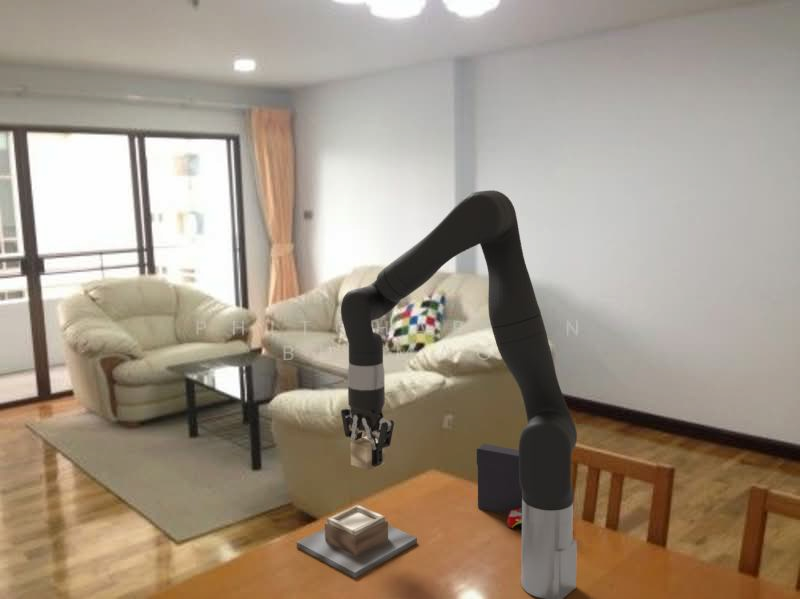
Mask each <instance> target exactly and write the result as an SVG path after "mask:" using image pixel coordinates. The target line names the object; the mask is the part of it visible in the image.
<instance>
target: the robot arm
mask: <svg viewBox="0 0 800 599" xmlns="http://www.w3.org/2000/svg"><path fill="white" fill-rule="evenodd" d="M519 230H520V229H519V224H518V219H517V212H516V208H515V206H514V205H513V203H512V201H511V200H510V198H509V197H508V196H507V195H506V194H504V193H503V192H501V191H498V190H481V191H474V192H471V193H469V194H466V195H465V196H464V197H463V198H462V199H461V200H460V201H459V202H458V203H457V204H456V205H455V206H454V207H453V208H452V210H450V212H449V213H448V214H447V215H446V216H445V217H444V218H443V219H442V221H441V222H439V223H438V224H437V225H436V226H435V227H434V228H433V229H432V230H431V231H430V232H429V233H428V234H427V235H426V236H425V237H424V238H422V239H421V240H420V241H419V242H418V243H416V244H414V245H413V246H412V247H411V248H409V249H408V250H407V251H405V252H404V253H402V254H401V255H400V256H398V257H397V258H395V259H394V260H393V261H392V262H391V263H389V264H388V265H386V267H384V268H383V269H382V270H381V271H379V273H378V274H377V277H376V279H375V281H373V282H372V283H370V284H368V285H367V286H364V287H360V288H354V289H351V290H349V291H348V292H346V294H345V295H344V296H343V298H342V301H341V304H340V315H341V320H342V324H343V328H344V333H345V336H346V338H347V339H346V340H347V341H348V369H347V400H348V402H347V403H348V406H349V407H346V408H344V409H341V411H340V414H341V419H342V424H343V425H342V426H343V430H344V436H345V437H346V438H350V442H352V441H355V440H357V439H360V438H363V437H364V435H365V433H366V436H367V438H368V439H369V440H370V442H371V446H372V466H374V467H376V466H378V465H381V463H382V461H383V457H382V449H383V448H384V449H385V448H387V447H390V446H391V441H392V436H393V431H394V425H395V422H394V421H393V419H390V420H387V419H386V418H384V413H383V407H384V405H385V400H386V399H385V397H386V396H385V391H386V389H385V387H386V386H385V367H384V355H383V354H384V343H383V337H382V336H381V335H380V334H379V333H377V332H374V331H373V326H372V322H373V321H375V320H379V319H380V318H383V317H384V316H385V315H387V314H388V313H389V312H390V311H392V310H393V309H394V308H395V306H397V305H398V304H399V303H400V302H401V300H403V299H404V298H406V297H408V296H409V295H410V294H412V293H414V292H415V291H416V290H417V289H419V288H420V287H422V286H423V285H424V284H425V283H427V282H429V280H430V279H431V278H432V277H434V275H435V274H436V273H437V272H438V271H439V270H440V269H441V268H442V267H443V266H444V265H445V264H446V263H448V262H449V261H450V260H452V259H453V258H454V257H456V256H457V255H459V254H462V253H463V252H465V251H467V250H470V249H472V248H473V247H476V246H478V245H480V247H481V251H482V253H483V257H484V260H485V263H486V268H487V273H488V300H487V301H488V318H489V321H490V327H491V330H492V333H493V334H492V335H493V337H494V341H495V344H496V347H497V349H498V352H499V354H500V357H501V358H502V360H503V362H504V364H505V365H506V367H507V369H508V370H509V371H510V374H511V375H512V377H513V378H514V380H515V382H516V383H517V385H518V388H519V391H520V393H521V396H522V400H523V403H524V408H525V412H526V420H527V424H526V426H525V427H524V429H522V432H521V433H520V437H519V444H518V450H519V481H520V487H521V489H522V531H521V579H520V581H521V583H520V584H521V587H522V588H523V590H524V591H525V592H526V593H528V594H530V596H533V597H536V598H539V599H565V597H567V596H568V595H569V594H570V593H572V592H573V591H574V590H575V589H577V565H578V564H577V563H578V562H577V560H578V558H577V556H578V554H577V553H578V541H577V540H576V539H574V538H573V532H574V531H573V530H574V529H573V528H574V519H573V518H574V487H573V486H572V480H571V478H572V476H571V472H572V470H571V469H572V454H573V451H574V449H575V447H576V445H577V439H578V433H577V428H576V424H575V422H574V419H573V417H572V414H571V411H570V410H569V406H568V404H567V402H566V400H565V397H564V394H563V392H562V389H561V387H560V384H559V380H558V376H557V373H556V367H555V363H554V358H553V354H552V351H551V346H550V343H549V339H548V334H547V330H546V326H545V324H544V320H543V316H542V313H541V312H542V311H541V309H540V307H539V304H538V300H537V297H536V294H535V291H534V286H533V282H532V280H531V276H530V273H529V271H528V268H527V264H526V261H525V256H524V252H523V248H522V241H521V236H520V231H519ZM373 432H374V433H373ZM375 438H376V439H377V440H378V443H376V440H375Z"/></svg>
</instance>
